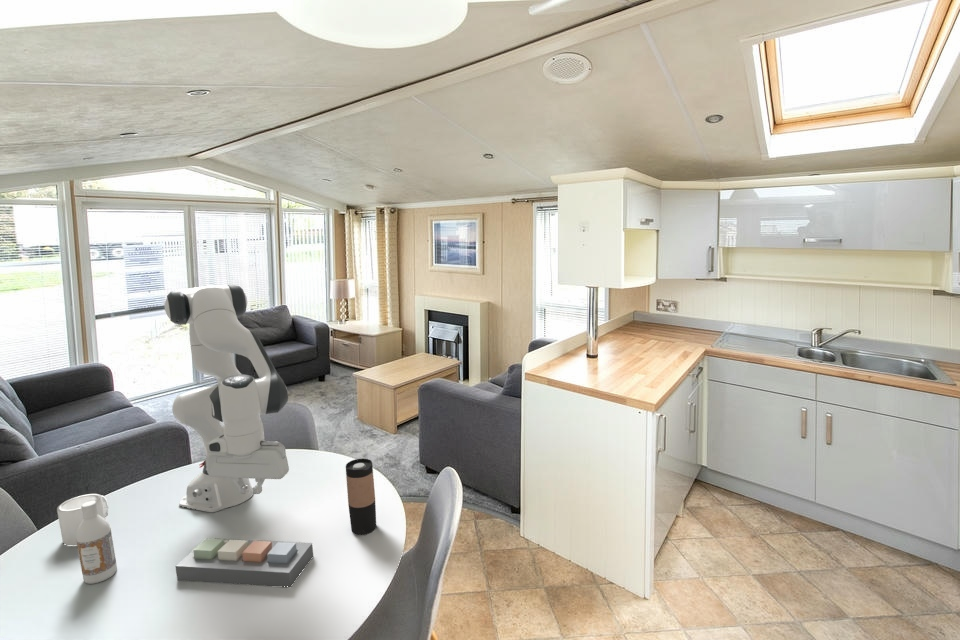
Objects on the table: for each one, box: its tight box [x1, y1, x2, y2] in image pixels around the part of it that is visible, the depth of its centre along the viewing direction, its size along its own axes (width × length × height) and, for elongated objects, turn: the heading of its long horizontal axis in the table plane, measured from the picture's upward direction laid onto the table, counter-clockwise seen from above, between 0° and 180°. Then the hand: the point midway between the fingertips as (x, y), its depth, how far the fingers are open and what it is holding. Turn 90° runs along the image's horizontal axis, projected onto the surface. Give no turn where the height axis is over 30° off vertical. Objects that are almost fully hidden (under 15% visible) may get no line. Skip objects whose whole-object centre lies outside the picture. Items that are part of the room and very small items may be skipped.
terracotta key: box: [242, 540, 272, 562], centre depth 127 cm, size 5×5×4 cm
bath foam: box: [76, 501, 118, 585], centre depth 126 cm, size 7×7×20 cm
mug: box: [56, 493, 109, 545], centre depth 146 cm, size 14×10×11 cm
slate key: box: [267, 541, 297, 564], centre depth 126 cm, size 5×5×4 cm
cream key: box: [218, 539, 248, 561], centre depth 128 cm, size 5×5×4 cm
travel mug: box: [345, 458, 377, 536], centre depth 143 cm, size 8×8×20 cm
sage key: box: [192, 537, 225, 560], centre depth 129 cm, size 5×5×4 cm
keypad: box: [175, 537, 314, 588], centre depth 128 cm, size 30×12×4 cm, turn 82°
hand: (250, 492), depth 124 cm, fingers open, 2 cm apart
